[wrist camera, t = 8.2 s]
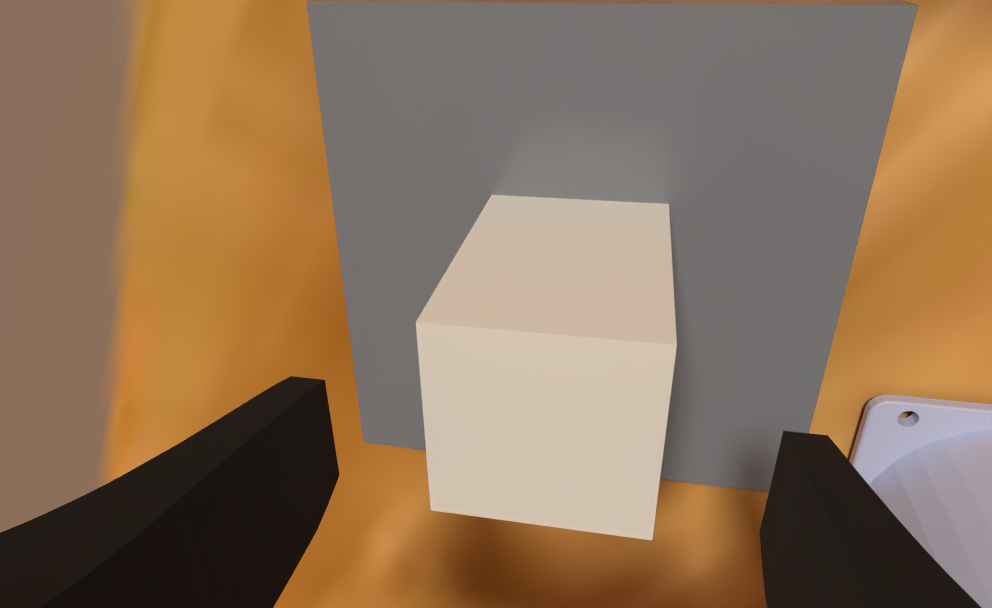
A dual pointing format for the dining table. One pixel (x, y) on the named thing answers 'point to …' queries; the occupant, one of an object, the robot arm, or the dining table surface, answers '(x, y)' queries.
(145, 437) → the dining table surface
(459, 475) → the block
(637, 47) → the tile
